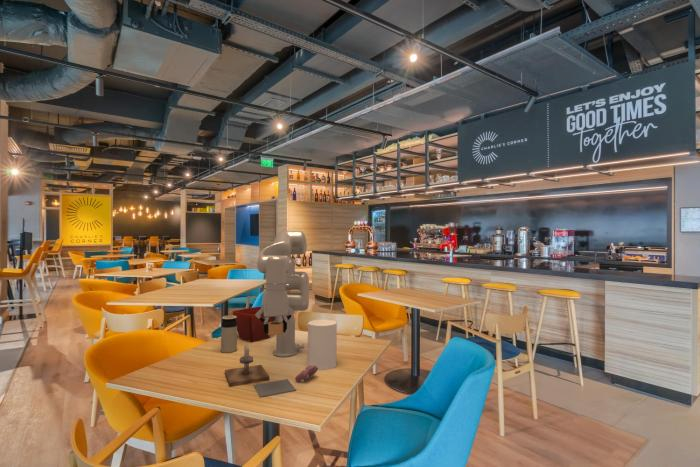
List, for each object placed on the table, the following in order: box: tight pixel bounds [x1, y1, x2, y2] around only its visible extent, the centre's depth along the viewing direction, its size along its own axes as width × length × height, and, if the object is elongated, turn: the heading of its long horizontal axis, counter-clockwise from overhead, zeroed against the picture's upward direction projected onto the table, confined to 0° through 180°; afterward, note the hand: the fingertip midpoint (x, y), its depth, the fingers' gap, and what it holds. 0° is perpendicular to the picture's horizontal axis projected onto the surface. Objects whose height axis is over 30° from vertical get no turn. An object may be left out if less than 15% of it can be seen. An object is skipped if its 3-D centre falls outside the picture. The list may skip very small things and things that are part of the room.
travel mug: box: [220, 315, 238, 354], centre depth 189 cm, size 8×8×18 cm
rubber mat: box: [253, 378, 297, 398], centre depth 141 cm, size 14×12×1 cm
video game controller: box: [294, 365, 319, 383], centre depth 150 cm, size 10×5×7 cm, turn 149°
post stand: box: [224, 345, 270, 388], centre depth 153 cm, size 16×16×13 cm
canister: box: [307, 318, 338, 371], centre depth 168 cm, size 14×14×20 cm
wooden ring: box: [267, 320, 284, 337], centre depth 141 cm, size 6×6×4 cm
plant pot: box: [232, 306, 276, 343], centre depth 213 cm, size 19×19×17 cm
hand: (275, 332), depth 141 cm, fingers closed on wooden ring, 6 cm apart
